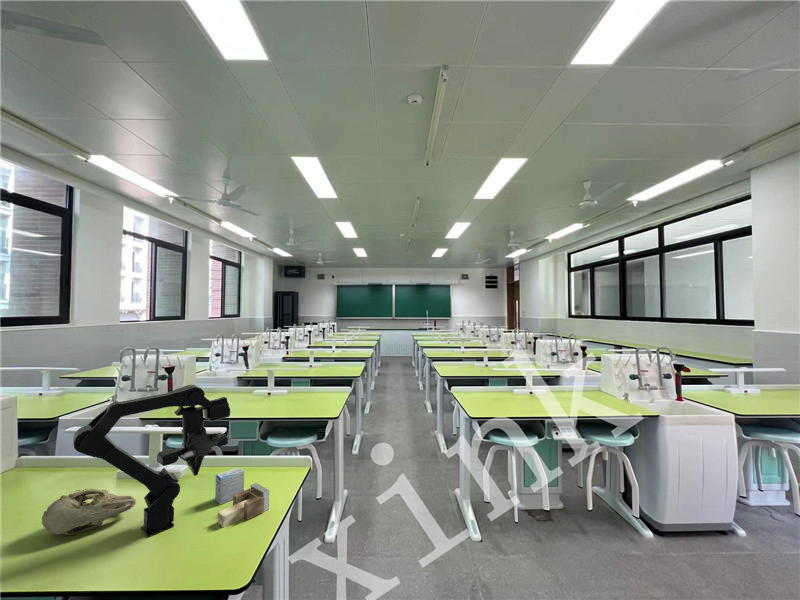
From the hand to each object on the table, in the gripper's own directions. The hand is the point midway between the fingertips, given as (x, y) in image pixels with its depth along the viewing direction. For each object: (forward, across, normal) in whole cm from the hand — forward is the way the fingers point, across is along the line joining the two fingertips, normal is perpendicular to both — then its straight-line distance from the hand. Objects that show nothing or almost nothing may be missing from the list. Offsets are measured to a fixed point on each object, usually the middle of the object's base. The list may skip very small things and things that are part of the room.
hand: (195, 475), depth 108 cm
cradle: (+12, +10, -12) cm, 20 cm away
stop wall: (+13, +14, -12) cm, 23 cm away
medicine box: (+13, +11, +1) cm, 17 cm away
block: (+13, +7, -12) cm, 19 cm away
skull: (+11, -22, +18) cm, 31 cm away
